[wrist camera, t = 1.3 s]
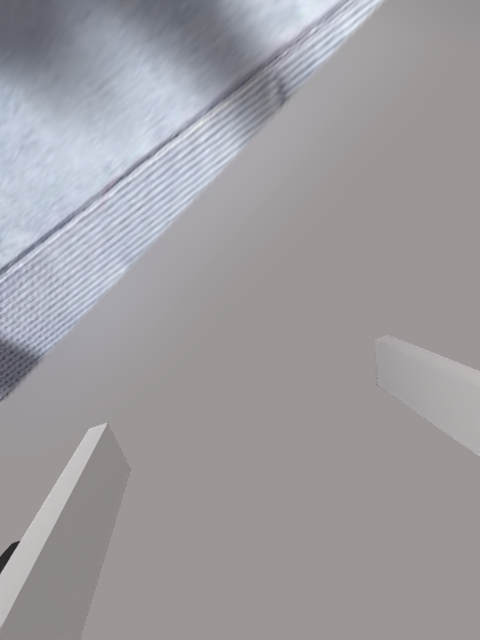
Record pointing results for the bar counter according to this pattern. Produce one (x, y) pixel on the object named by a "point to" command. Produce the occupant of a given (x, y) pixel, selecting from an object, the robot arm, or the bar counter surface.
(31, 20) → the bar counter surface
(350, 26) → the bar counter surface
